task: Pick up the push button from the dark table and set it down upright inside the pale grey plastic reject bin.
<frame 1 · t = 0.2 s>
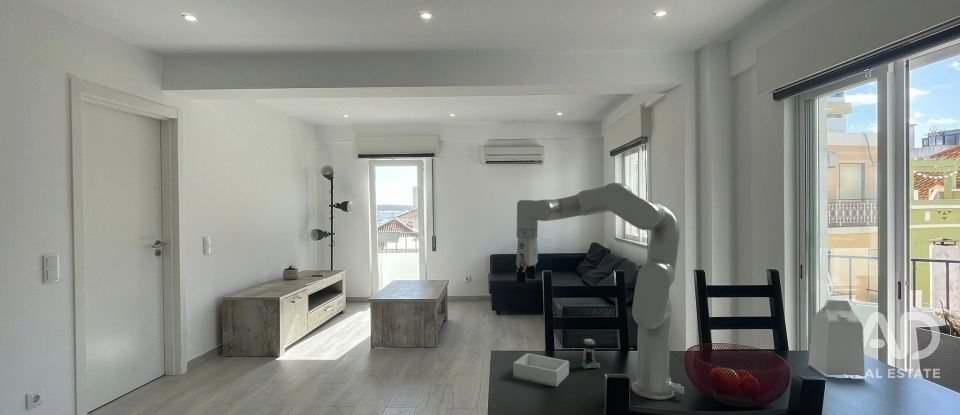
hand: (526, 280, 169), 31 cm above the table, fingers open, 9 cm apart
milk: (835, 373, 166), on the table
reject bin: (541, 376, 159), on the table
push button: (590, 368, 168), on the table
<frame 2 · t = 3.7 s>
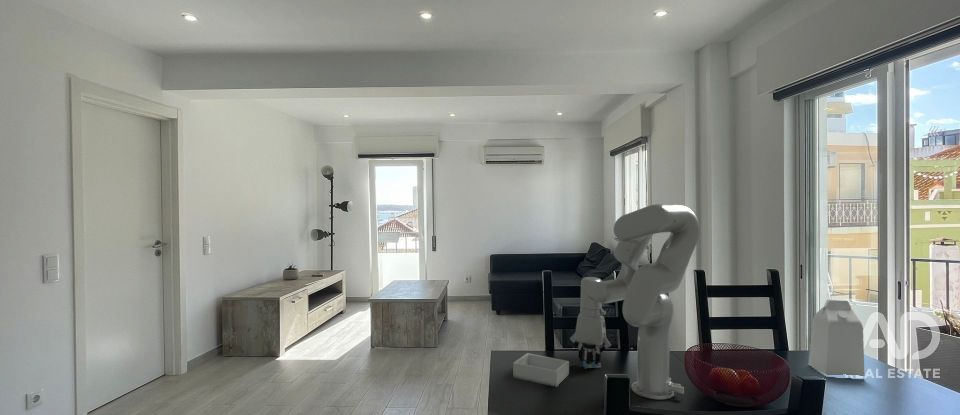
hand: (589, 361, 168), 2 cm above the table, fingers closed on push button, 5 cm apart
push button: (591, 368, 168), on the table, touching gripper
everything else where it was.
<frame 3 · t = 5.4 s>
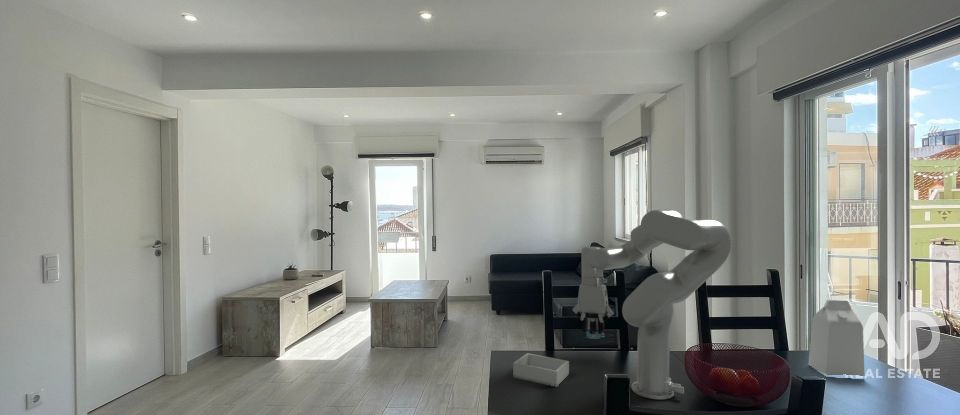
hand: (592, 331, 167), 13 cm above the table, fingers closed on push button, 5 cm apart
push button: (595, 338, 166), point 11 cm above the table, touching gripper
everything else where it was.
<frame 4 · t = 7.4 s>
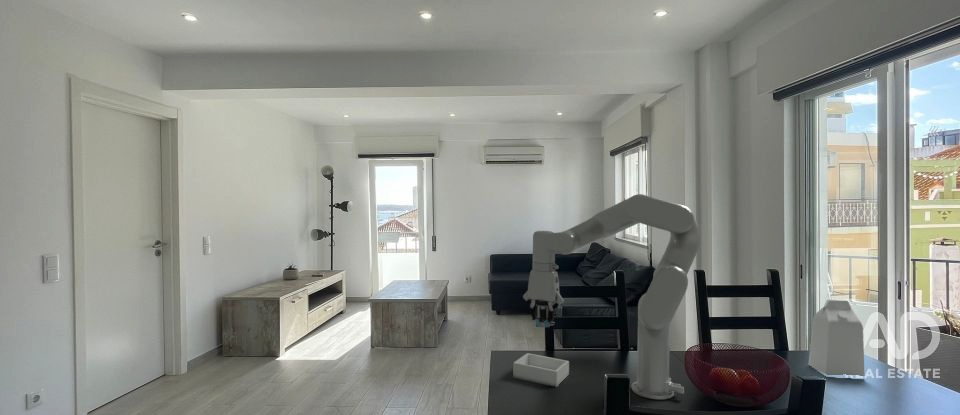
hand: (542, 319, 159), 19 cm above the table, fingers closed on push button, 5 cm apart
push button: (544, 327, 158), point 17 cm above the table, touching gripper
everything else where it was.
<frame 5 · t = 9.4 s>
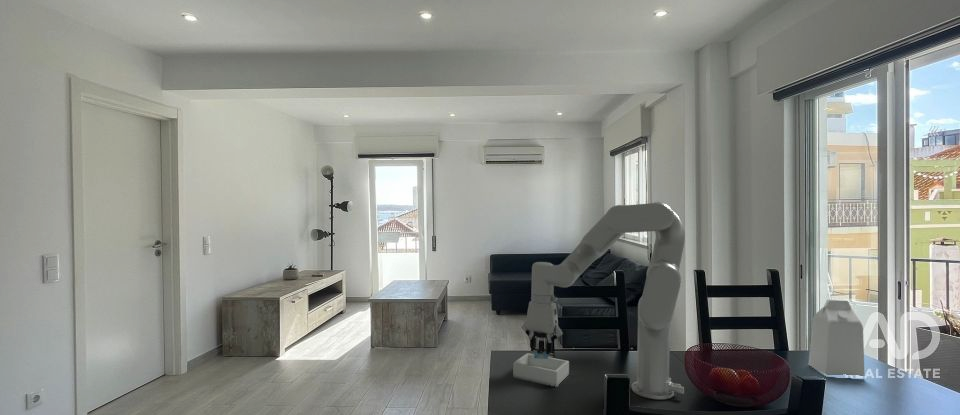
hand: (541, 351, 159), 9 cm above the table, fingers closed on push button, 5 cm apart
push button: (543, 358, 159), point 6 cm above the table, touching gripper
everything else where it was.
when the fingers open (4 cm above the table, at t = 10.8 s): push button stays where it is, resting on reject bin.
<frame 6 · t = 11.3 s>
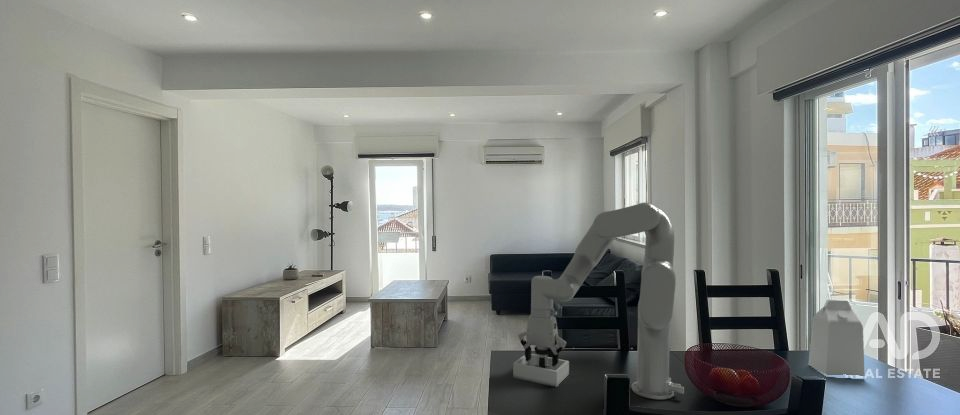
hand: (541, 362, 159), 5 cm above the table, fingers open, 9 cm apart
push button: (543, 375, 159), point 1 cm above the table, touching reject bin
everything else where it was.
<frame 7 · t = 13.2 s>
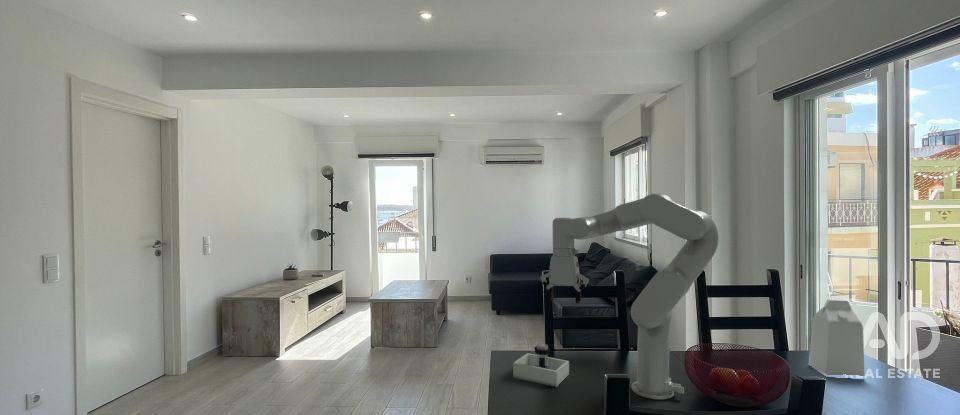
hand: (564, 301, 164), 25 cm above the table, fingers open, 9 cm apart
nothing on the table moved.
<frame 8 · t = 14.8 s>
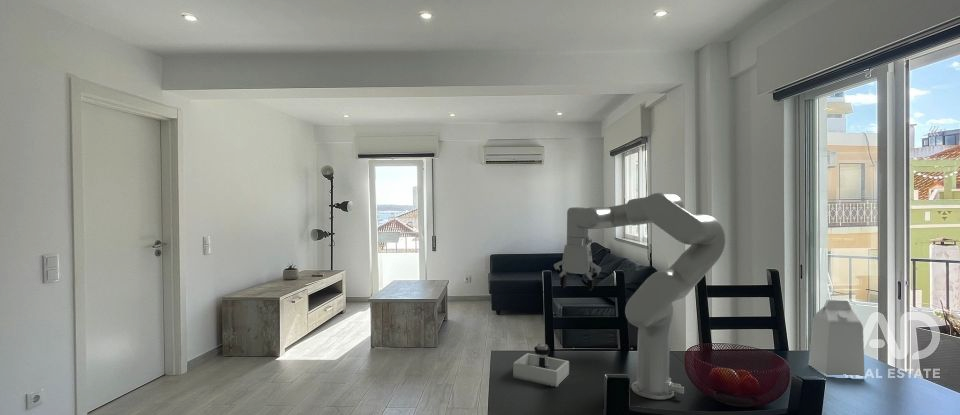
hand: (576, 289, 168), 28 cm above the table, fingers open, 9 cm apart
nothing on the table moved.
at the end: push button inside the target area on the reject bin (0.9 cm from its centre), point 0.6 cm above the reject bin's base; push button tilted 0°; the gripper is holding nothing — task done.
